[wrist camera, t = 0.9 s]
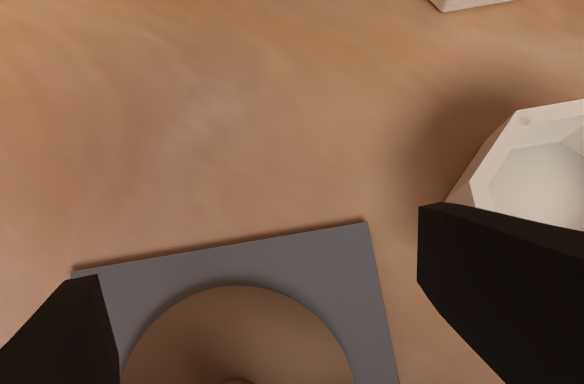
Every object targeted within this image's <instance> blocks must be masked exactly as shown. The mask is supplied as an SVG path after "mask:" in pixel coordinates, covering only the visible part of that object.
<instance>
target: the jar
mask: <svg viewBox="0 0 584 384" xmlns="http://www.w3.org/2000/svg"><path fill="white" fill-rule="evenodd" d="M430 1H431V2H432V3H433V4H434V5H435V6H436V7H437V8H438V9H439V10H440V11H441V12H450V11H456V10H461V9H467V8H473V7H479V6H485V5H491V4H497V3H503V2H509V1H515V0H430Z"/></svg>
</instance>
